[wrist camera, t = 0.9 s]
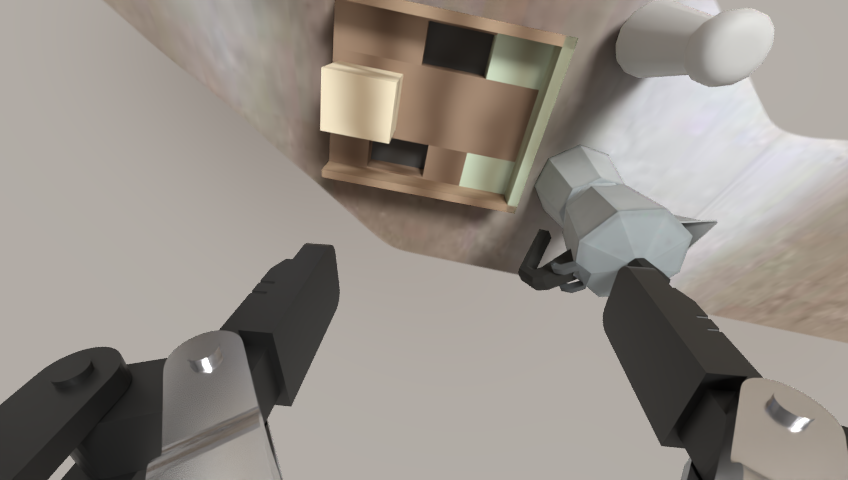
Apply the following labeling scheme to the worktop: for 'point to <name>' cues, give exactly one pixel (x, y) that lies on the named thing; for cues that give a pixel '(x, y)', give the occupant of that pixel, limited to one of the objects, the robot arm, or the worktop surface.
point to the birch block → (359, 101)
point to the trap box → (450, 100)
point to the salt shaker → (694, 43)
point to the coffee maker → (603, 226)
